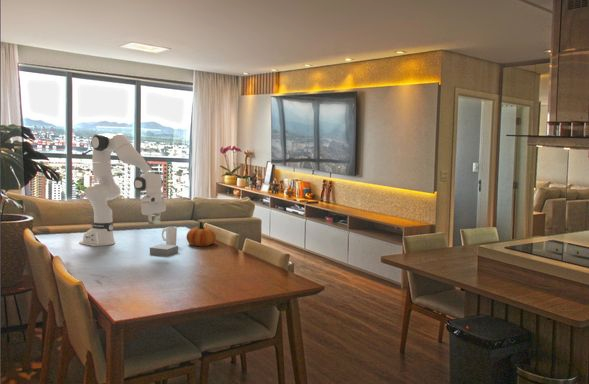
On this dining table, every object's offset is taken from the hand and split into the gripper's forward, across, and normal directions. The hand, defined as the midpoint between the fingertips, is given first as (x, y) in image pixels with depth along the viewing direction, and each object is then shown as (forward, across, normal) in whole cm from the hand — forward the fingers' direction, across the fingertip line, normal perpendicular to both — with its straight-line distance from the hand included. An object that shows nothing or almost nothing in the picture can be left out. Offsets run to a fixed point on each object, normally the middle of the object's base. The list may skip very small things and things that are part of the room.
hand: (154, 220), depth 300 cm
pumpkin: (+20, -37, +10) cm, 44 cm away
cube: (+2, 0, 0) cm, 2 cm away
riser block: (+20, -4, +4) cm, 21 cm away
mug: (+20, -25, -6) cm, 33 cm away
